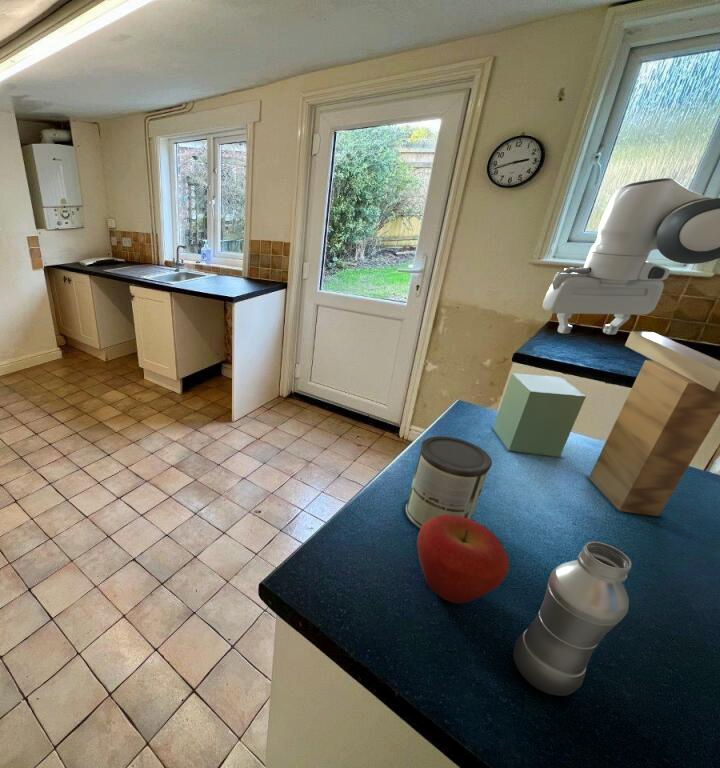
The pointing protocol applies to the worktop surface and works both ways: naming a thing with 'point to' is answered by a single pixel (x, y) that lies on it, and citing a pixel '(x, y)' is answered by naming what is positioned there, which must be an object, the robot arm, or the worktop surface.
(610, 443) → the tall stand
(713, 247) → the robot arm
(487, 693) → the worktop surface
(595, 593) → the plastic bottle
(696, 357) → the slim box
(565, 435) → the low box
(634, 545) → the worktop surface
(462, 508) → the coffee can
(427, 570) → the apple
